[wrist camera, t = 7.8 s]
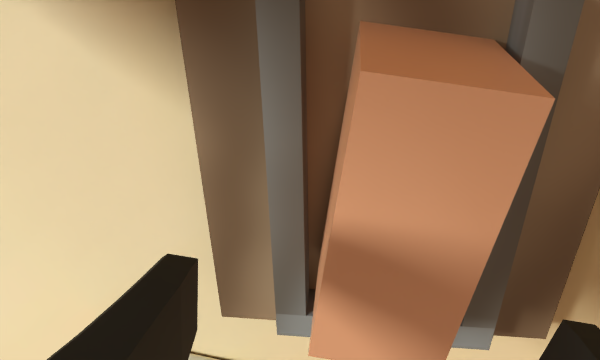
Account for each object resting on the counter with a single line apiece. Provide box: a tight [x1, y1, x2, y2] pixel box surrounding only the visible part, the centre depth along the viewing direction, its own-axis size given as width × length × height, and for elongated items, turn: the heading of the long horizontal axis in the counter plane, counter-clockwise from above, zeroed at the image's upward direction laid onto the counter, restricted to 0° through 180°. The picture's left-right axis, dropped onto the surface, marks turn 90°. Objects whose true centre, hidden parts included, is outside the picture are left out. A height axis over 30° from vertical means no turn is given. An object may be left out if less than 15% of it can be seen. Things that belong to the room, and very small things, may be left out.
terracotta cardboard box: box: [308, 21, 555, 360], centre depth 14 cm, size 4×9×5 cm, turn 174°
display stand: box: [175, 0, 600, 350], centre depth 16 cm, size 14×16×3 cm
